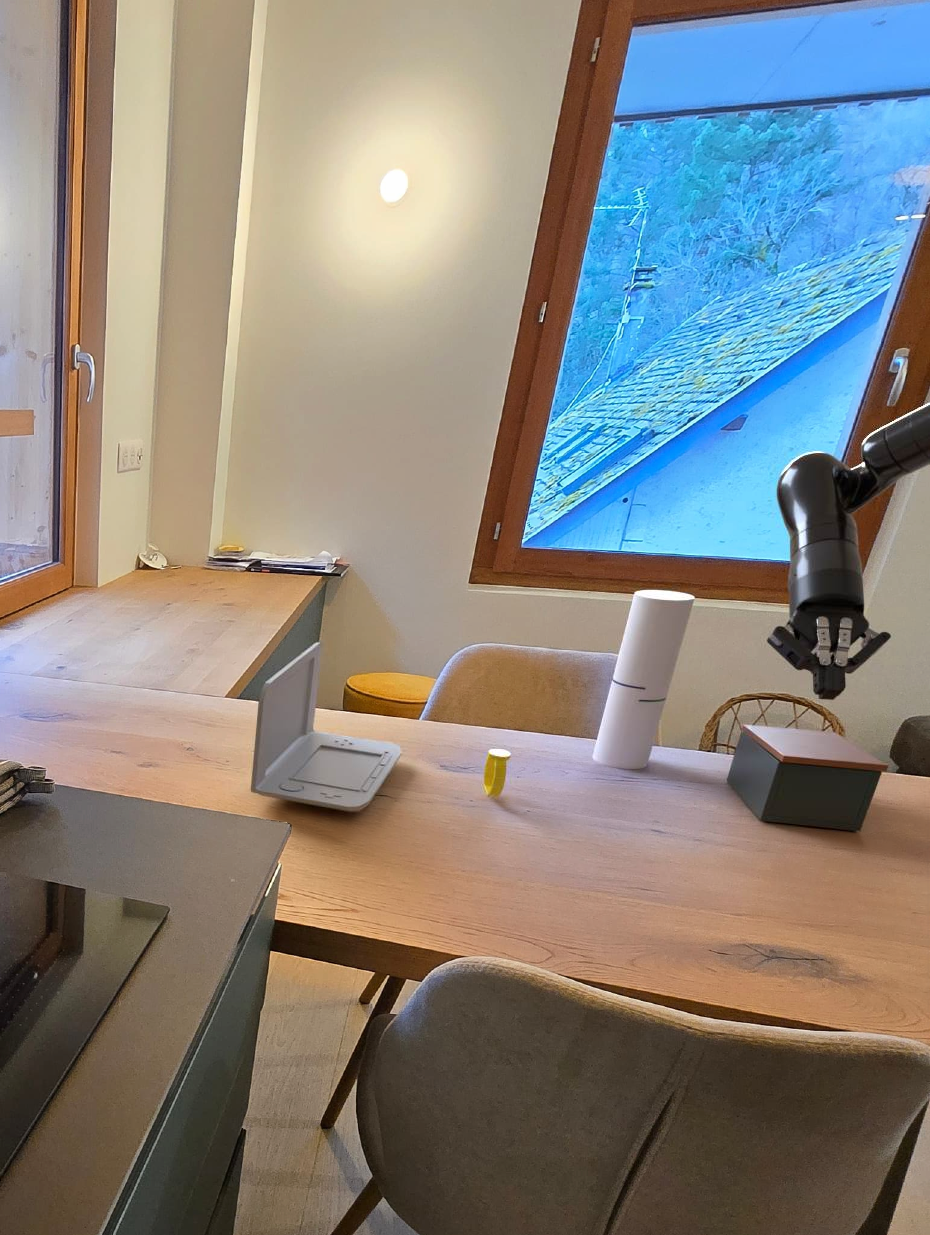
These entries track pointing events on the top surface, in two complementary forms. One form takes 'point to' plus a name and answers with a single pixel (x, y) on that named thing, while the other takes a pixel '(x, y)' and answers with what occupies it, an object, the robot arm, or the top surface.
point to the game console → (312, 746)
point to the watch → (495, 771)
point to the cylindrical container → (642, 677)
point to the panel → (813, 748)
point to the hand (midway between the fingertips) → (830, 696)
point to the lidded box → (800, 789)
